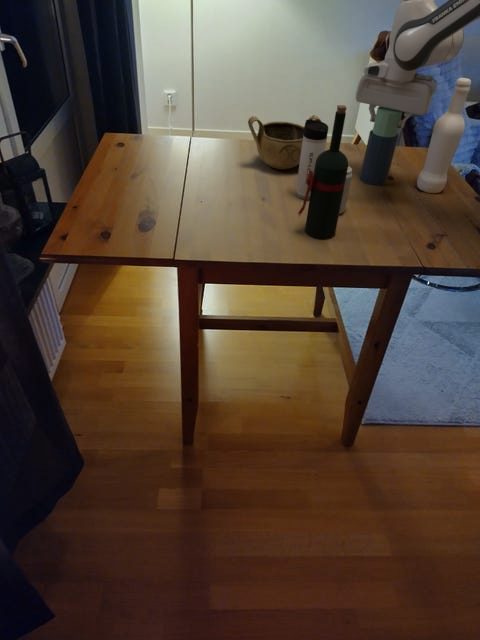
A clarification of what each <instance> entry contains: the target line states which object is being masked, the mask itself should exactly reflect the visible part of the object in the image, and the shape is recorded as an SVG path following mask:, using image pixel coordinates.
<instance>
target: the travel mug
mask: <svg viewBox="0 0 480 640" xmlns="http://www.w3.org/2000/svg"><path fill="white" fill-rule="evenodd" d="M304 126H305V128H304V135H303V141H302V149H301V157H300V164H299V165H298V166H299V167H298V172H297V173H298V174H297V179H296V181H297V182H296V189H295V196H296V197H297V198H299V199H301V200H304V199H305V196H306V192H307V188H308V185H307V177H309V170H311V171H312V172H313V175H314V169H315V163H316V159H317V157H318V156H319V155H320V154H321V153H322V152H324V151H326V149H327V148H326V147H327V139H328V133H329V125H328V124H326V123H325V122H323V121H322V120H321V121H317V120H312V119H309V118H308V119H306V120H305V122H304ZM310 194H311V191H309V195H308V198H307V201H310Z"/></svg>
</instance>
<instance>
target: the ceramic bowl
mask: <svg viewBox="0 0 480 640" xmlns="http://www.w3.org/2000/svg"><path fill="white" fill-rule="evenodd" d="M308 119H312V120H316V121H321V122H322V120H321V118H320V117H319V116H318V115H316V114H312V115H311V116H309V118H308ZM255 122H257V124H258V130H257V133H256V130H255V128H254V126H253V124H254V123H255ZM247 125H248V128H249V130H250V133H251V136H252V137H253V140H254V142H255V143H256V144H255V145H256V149H257V152H258V156H259V157H260V159H261V160H262V162H263V163H265V164H266V165H268V167H271V168H273V169H276V170H290V169H292V168H295V167H297V166H299V165H300V157H301V149H302V141H303V135H304V128H305V125H304V126H303V125H301V124H298V123H295V122H290V121H268V122H265V123H263V122H262V121H261V120H260V119H259V118H258V117H257V116H254V115H252V116H250V117H249V118H248V121H247Z"/></svg>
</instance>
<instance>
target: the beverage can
mask: <svg viewBox="0 0 480 640" xmlns="http://www.w3.org/2000/svg"><path fill="white" fill-rule="evenodd" d="M352 178H353V168H352V167H350V166H349V165H348V170H347V175H346V180H345V186H344V191H343V196H342V201H341V206H340V211H339V215H340V214H341V215H342V214H343V213H344V212H345V211H346V206H347V202H348V197H349V192H350V188H351V183H352Z"/></svg>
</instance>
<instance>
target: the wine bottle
mask: <svg viewBox="0 0 480 640" xmlns="http://www.w3.org/2000/svg"><path fill="white" fill-rule="evenodd" d="M347 108H348V107H347V106H346V105H344V104H337V105H336V111H335V115H334V120H333V126H332V132H331V139H330V145H329V148H328V149H325V151H324V152H322V153H321V154H320V155H319V156H318V157H317V159H316V163H315V169H314V175H313V172H312V171H311V170H309V177H307V185H308V188H307V192H306V196H305V199H303V204H302V205H301V208H300V209H299V211H298V212H297V215H298V217H300V216H301V215H302V213H303V212H304V211H305V208H306V205H307V201H308V208H307V214H306V221H305V226H304V233H305V234H306V236H308V237H310V238H312V239H316V240H321V241H325V240H331V239H333V238H334V237H335V236H336V232H337V226H338V221H339V217H340V214H339V211H340V206H341V201H342V196H343V191H344V186H345V180H346V175H347V170H348V166H349V160H348V157H347V155H346V154H345V153H344V152H343V151H341V150H340V149H341V144H342V143H341V142H342V138H343V133H344V132H343V131H344V127H345V120H346V116H347V112H346V111H347ZM309 191H311V194H310V200H307V198H308V195H309Z"/></svg>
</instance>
